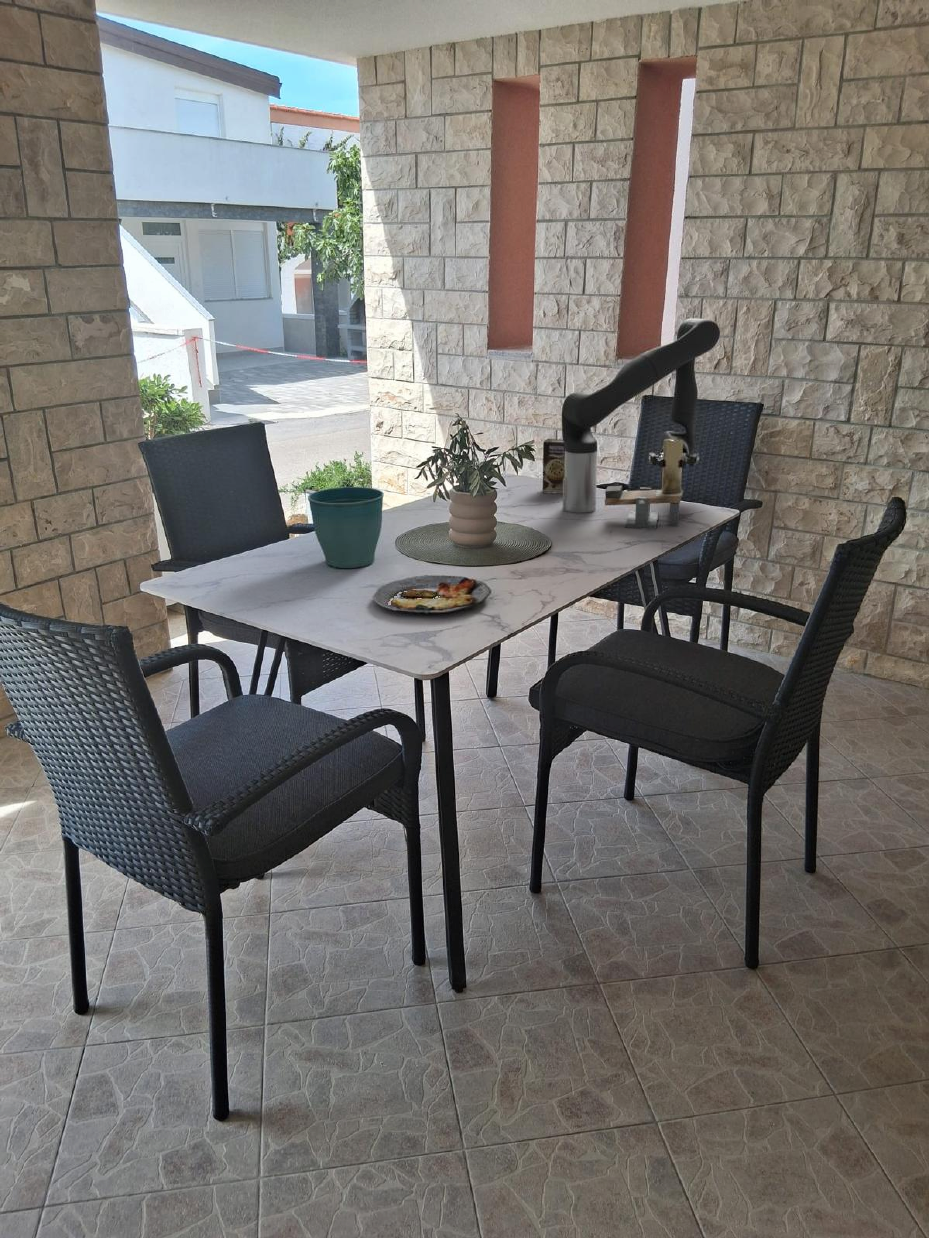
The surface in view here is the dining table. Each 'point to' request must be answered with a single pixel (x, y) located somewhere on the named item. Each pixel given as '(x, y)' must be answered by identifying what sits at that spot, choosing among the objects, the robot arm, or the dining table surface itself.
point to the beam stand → (649, 514)
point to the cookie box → (553, 465)
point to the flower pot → (347, 524)
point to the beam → (629, 497)
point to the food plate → (433, 594)
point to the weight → (672, 466)
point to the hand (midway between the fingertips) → (672, 464)
